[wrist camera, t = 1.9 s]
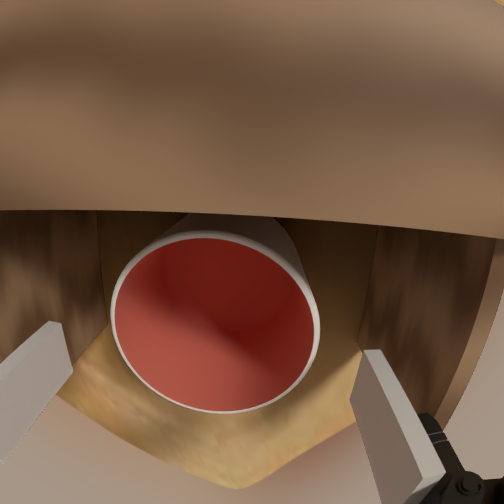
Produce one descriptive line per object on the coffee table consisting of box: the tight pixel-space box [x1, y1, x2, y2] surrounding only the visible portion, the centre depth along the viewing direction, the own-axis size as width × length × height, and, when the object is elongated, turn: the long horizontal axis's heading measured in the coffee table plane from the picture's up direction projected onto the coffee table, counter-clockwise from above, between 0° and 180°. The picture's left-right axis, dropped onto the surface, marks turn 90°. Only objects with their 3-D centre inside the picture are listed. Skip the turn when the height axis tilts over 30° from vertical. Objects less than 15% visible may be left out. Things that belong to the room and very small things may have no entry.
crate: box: [0, 0, 504, 430], centre depth 15 cm, size 22×24×14 cm
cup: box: [110, 213, 320, 414], centre depth 19 cm, size 10×10×10 cm
